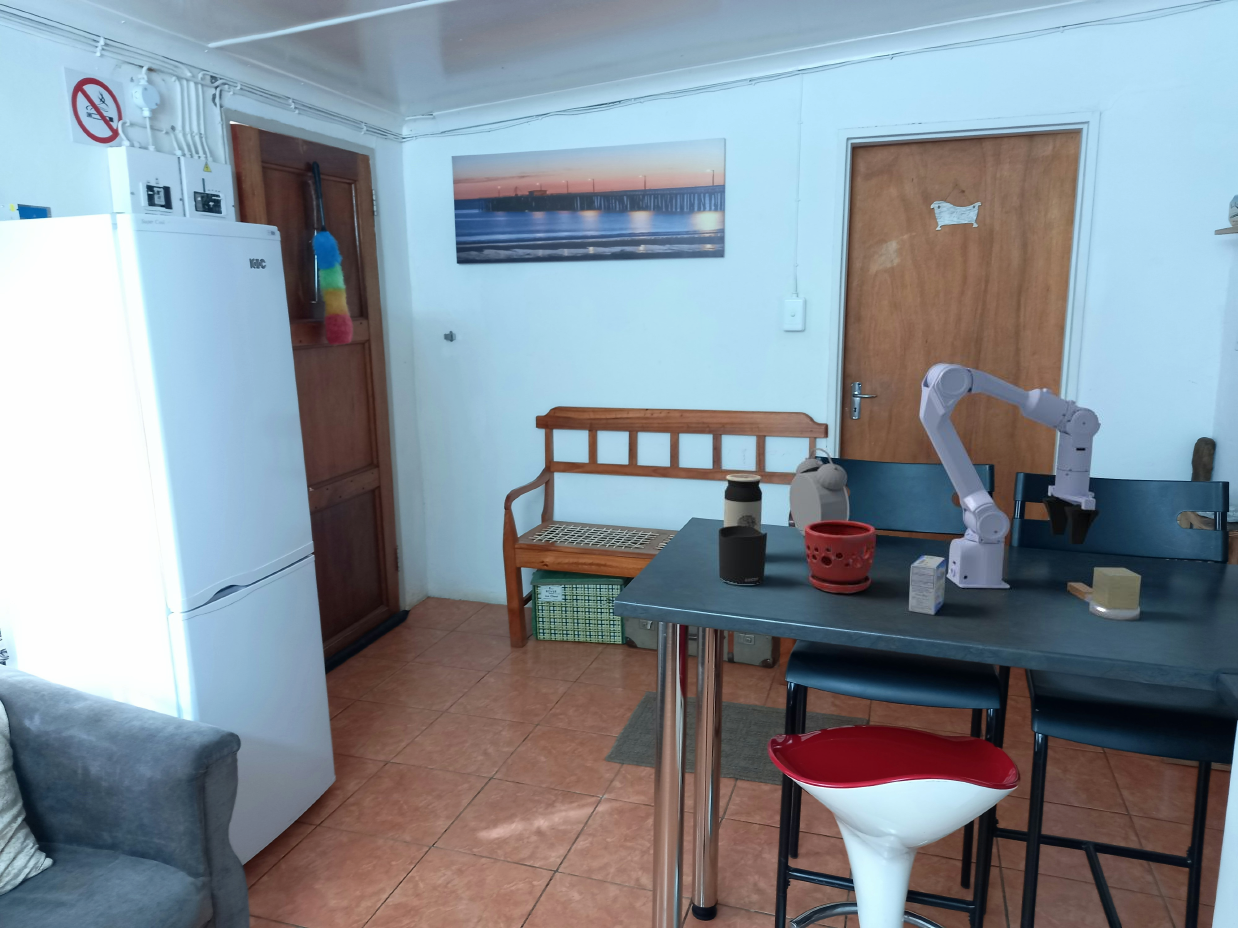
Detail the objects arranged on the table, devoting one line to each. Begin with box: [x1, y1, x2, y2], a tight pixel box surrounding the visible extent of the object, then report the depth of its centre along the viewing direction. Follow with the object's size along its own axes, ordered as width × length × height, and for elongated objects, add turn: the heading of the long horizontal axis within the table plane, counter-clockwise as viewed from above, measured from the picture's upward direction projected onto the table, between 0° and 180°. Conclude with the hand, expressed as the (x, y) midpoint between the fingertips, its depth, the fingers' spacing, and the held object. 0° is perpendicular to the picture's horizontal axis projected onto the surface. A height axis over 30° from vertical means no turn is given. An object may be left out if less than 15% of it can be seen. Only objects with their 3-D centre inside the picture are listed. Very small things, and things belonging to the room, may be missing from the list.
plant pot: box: [804, 520, 877, 595], centre depth 164 cm, size 13×13×12 cm
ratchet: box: [1066, 582, 1141, 622], centre depth 155 cm, size 18×8×5 cm, turn 179°
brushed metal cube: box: [1092, 567, 1142, 610], centre depth 149 cm, size 5×5×6 cm
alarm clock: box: [788, 447, 850, 537], centre depth 202 cm, size 16×9×22 cm, turn 17°
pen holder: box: [718, 526, 768, 584], centre depth 168 cm, size 9×9×10 cm
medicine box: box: [908, 555, 947, 616], centre depth 152 cm, size 8×4×9 cm, turn 148°
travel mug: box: [723, 473, 763, 533], centre depth 185 cm, size 8×8×18 cm
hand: (1067, 539), depth 165 cm, fingers open, 7 cm apart
